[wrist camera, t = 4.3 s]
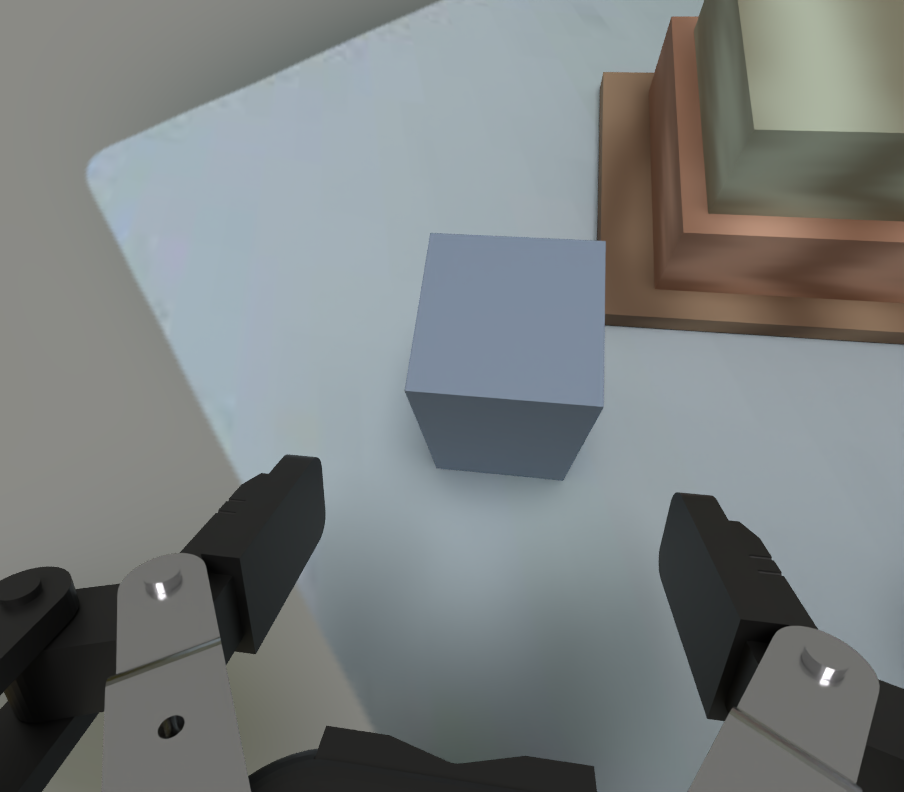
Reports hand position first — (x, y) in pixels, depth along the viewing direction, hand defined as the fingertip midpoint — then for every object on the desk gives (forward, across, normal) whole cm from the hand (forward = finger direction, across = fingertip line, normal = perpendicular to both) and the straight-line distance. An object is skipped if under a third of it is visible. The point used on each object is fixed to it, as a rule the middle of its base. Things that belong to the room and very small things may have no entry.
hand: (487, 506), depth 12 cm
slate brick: (+12, 0, +3) cm, 12 cm away
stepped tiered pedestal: (+21, -13, -6) cm, 25 cm away
